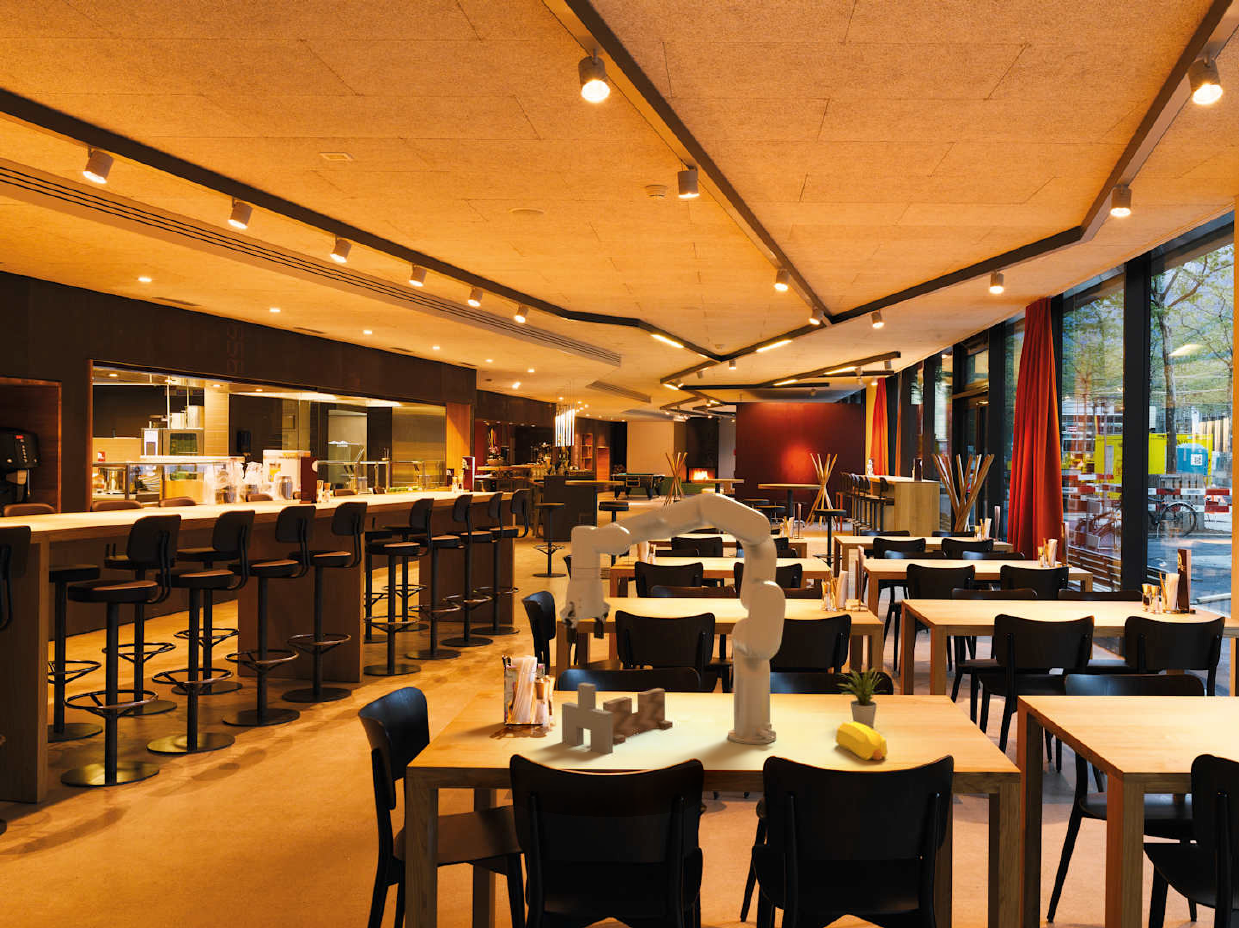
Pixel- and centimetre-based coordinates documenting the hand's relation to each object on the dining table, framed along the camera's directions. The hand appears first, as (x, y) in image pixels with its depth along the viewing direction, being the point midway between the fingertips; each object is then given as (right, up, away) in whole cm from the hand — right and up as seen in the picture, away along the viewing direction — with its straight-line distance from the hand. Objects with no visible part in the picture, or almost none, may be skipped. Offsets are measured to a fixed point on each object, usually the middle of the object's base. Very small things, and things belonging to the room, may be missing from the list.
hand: (585, 640), depth 244 cm
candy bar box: (-18, -28, +23) cm, 40 cm away
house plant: (+76, -27, +20) cm, 84 cm away
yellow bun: (+69, -27, -6) cm, 75 cm away
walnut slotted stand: (+13, -27, +13) cm, 33 cm away
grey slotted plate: (0, -27, 0) cm, 27 cm away
